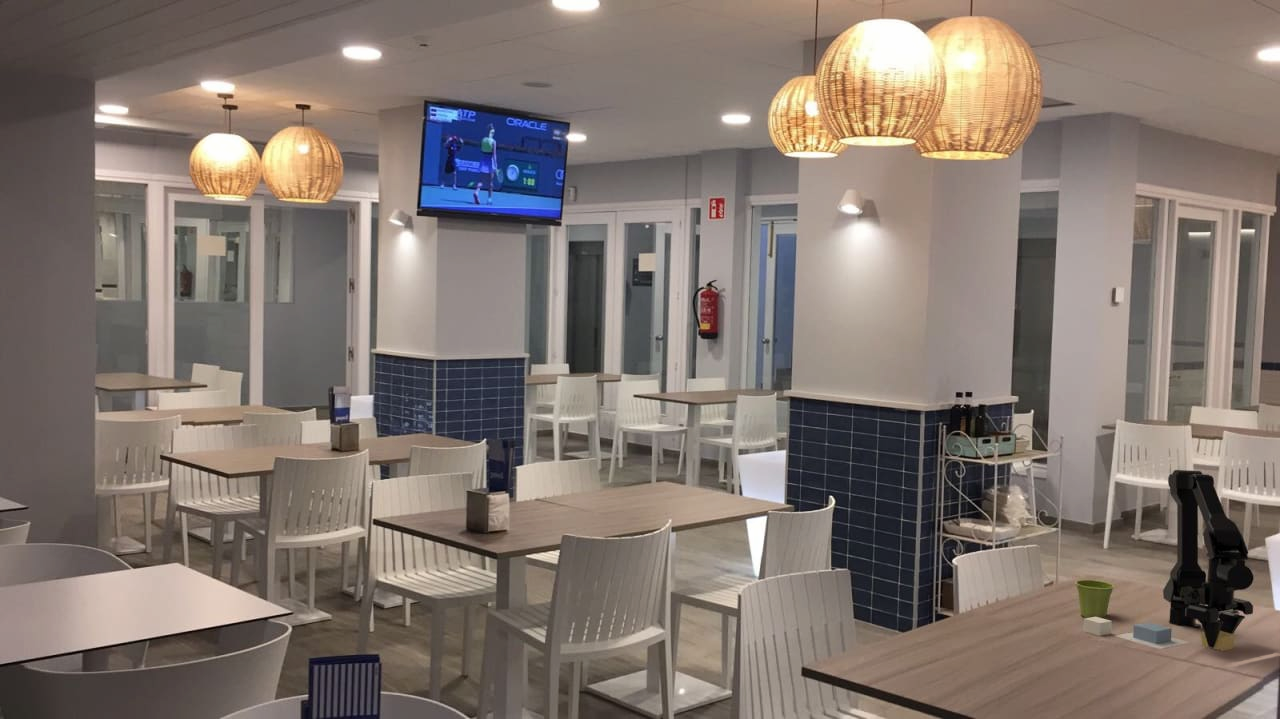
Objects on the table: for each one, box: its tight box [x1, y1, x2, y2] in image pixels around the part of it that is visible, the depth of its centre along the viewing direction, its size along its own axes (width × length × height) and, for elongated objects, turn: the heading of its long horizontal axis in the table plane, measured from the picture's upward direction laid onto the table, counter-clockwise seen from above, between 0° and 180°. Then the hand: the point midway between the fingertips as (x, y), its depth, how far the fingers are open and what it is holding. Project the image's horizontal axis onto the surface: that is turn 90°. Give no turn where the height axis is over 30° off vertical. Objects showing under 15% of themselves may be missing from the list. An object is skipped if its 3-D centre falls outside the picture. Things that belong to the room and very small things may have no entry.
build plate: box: [1115, 631, 1191, 650], centre depth 274 cm, size 12×12×1 cm
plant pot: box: [1075, 579, 1115, 619], centre depth 296 cm, size 9×9×9 cm
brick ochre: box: [1200, 630, 1236, 652], centre depth 269 cm, size 5×5×4 cm
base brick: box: [1132, 621, 1173, 644], centre depth 274 cm, size 6×6×3 cm
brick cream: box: [1083, 617, 1113, 637], centre depth 278 cm, size 4×4×4 cm
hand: (1217, 645), depth 269 cm, fingers closed on brick ochre, 5 cm apart
